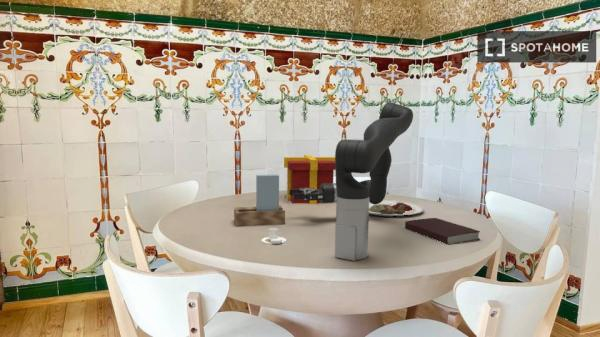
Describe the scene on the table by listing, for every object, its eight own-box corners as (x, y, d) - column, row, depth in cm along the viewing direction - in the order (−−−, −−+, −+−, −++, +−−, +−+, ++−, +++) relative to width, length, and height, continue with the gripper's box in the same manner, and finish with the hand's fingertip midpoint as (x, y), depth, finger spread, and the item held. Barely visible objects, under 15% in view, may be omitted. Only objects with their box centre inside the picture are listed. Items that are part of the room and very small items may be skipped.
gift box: (282, 194, 221) (282, 154, 219) (330, 194, 224) (331, 154, 221) (286, 205, 196) (286, 160, 194) (340, 204, 199) (341, 159, 197)
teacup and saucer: (282, 246, 135) (282, 233, 135) (257, 245, 137) (257, 232, 136) (288, 238, 144) (288, 226, 143) (264, 237, 145) (264, 225, 145)
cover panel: (277, 221, 166) (277, 174, 163) (278, 223, 163) (279, 175, 160) (256, 222, 164) (256, 174, 162) (257, 224, 161) (257, 176, 159)
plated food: (337, 208, 190) (337, 201, 190) (384, 201, 208) (385, 194, 208) (390, 222, 166) (390, 214, 166) (438, 212, 184) (438, 204, 184)
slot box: (280, 218, 170) (280, 205, 170) (285, 224, 161) (285, 210, 161) (234, 220, 166) (234, 207, 166) (236, 226, 158) (235, 212, 157)
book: (446, 246, 137) (447, 234, 137) (404, 229, 157) (404, 219, 157) (480, 241, 143) (481, 230, 143) (435, 226, 163) (435, 216, 162)
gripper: (328, 180, 174) (288, 181, 170) (338, 186, 160) (295, 187, 157) (327, 199, 175) (287, 200, 171) (338, 206, 161) (295, 208, 157)
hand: (291, 194), depth 164 cm, fingers open, 8 cm apart
